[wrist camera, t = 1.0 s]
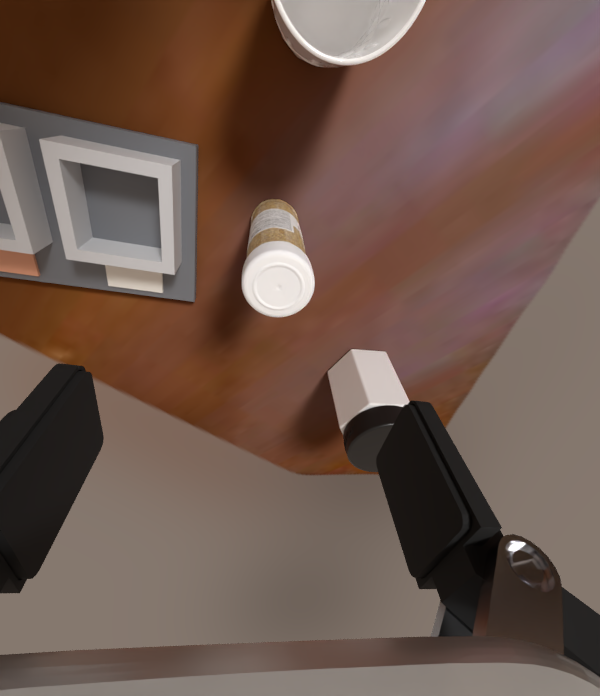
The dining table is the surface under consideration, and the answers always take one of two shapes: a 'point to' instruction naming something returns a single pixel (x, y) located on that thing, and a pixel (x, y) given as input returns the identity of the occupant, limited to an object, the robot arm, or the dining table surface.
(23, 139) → the socket board
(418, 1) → the white cup
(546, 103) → the dining table surface
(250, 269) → the sprinkles bottle
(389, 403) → the jar
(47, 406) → the robot arm
